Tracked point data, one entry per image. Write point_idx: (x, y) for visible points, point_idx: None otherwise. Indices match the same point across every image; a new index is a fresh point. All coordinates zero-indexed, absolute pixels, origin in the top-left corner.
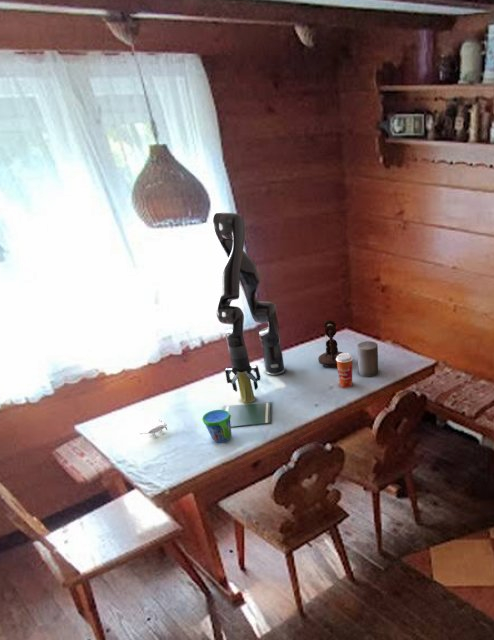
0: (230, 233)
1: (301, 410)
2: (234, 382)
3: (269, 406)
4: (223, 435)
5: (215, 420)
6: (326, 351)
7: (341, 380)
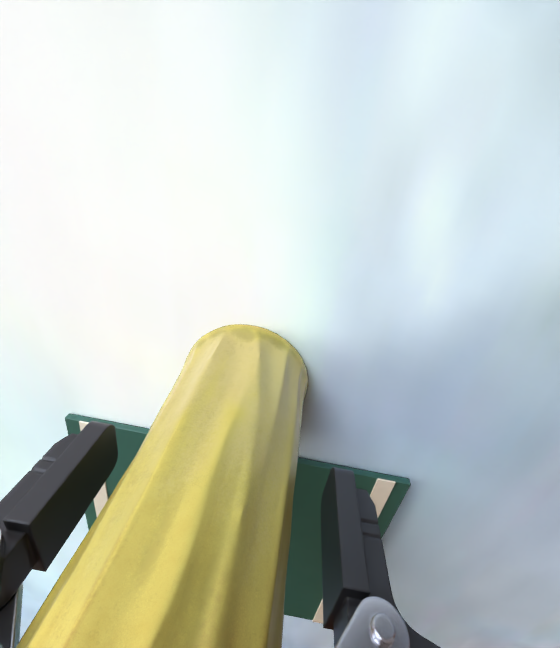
0: None
1: (552, 600)
2: (15, 609)
3: (383, 523)
4: None
5: None
6: None
7: None
